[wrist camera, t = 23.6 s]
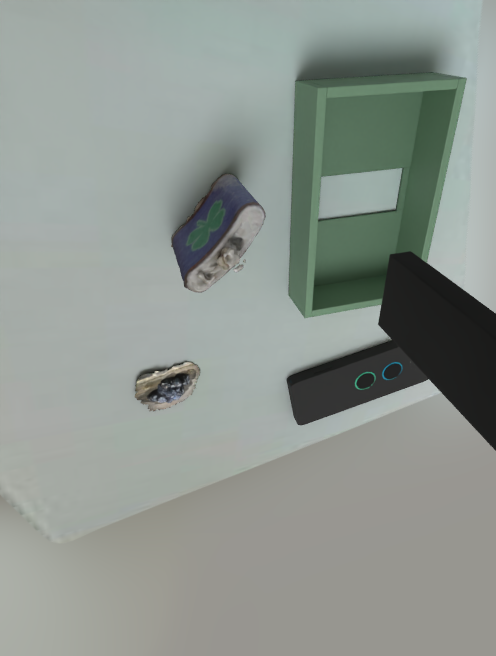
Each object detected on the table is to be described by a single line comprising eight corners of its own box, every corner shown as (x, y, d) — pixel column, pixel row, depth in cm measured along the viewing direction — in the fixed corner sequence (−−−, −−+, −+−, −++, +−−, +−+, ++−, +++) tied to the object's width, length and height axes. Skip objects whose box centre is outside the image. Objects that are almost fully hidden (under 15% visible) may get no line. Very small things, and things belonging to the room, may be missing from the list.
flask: (224, 167, 43) (258, 205, 34) (247, 186, 44) (285, 228, 36) (164, 243, 45) (181, 297, 36) (187, 259, 47) (209, 314, 38)
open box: (295, 80, 40) (317, 87, 36) (432, 72, 43) (467, 78, 39) (288, 295, 52) (304, 318, 48) (395, 277, 55) (419, 298, 51)
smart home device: (431, 380, 65) (298, 428, 63) (424, 372, 66) (294, 419, 64) (434, 334, 60) (290, 385, 58) (426, 327, 61) (285, 376, 59)
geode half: (122, 383, 53) (123, 394, 51) (181, 346, 52) (183, 356, 51) (157, 415, 57) (159, 426, 55) (211, 381, 56) (215, 391, 55)
